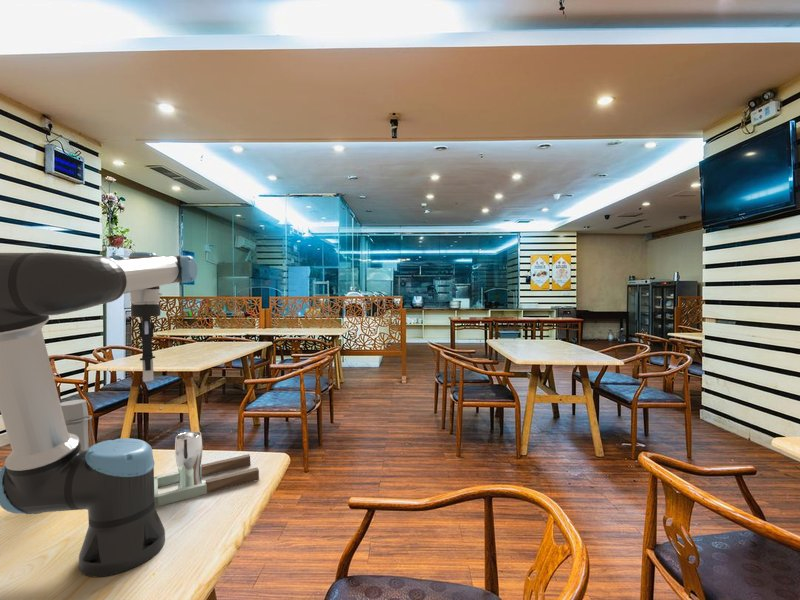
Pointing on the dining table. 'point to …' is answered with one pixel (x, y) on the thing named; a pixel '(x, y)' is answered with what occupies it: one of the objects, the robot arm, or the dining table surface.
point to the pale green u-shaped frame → (176, 494)
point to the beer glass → (188, 458)
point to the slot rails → (232, 478)
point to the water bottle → (78, 421)
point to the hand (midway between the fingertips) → (148, 380)
